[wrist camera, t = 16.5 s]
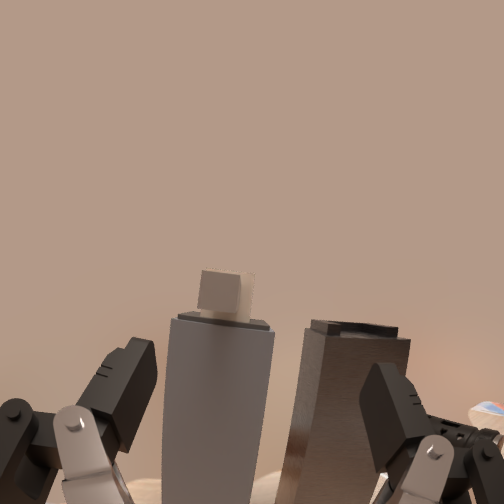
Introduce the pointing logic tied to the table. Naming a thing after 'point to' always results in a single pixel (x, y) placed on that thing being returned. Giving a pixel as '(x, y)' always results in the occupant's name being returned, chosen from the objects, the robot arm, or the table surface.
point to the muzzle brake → (463, 433)
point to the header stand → (335, 413)
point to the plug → (226, 295)
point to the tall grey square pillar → (213, 408)
